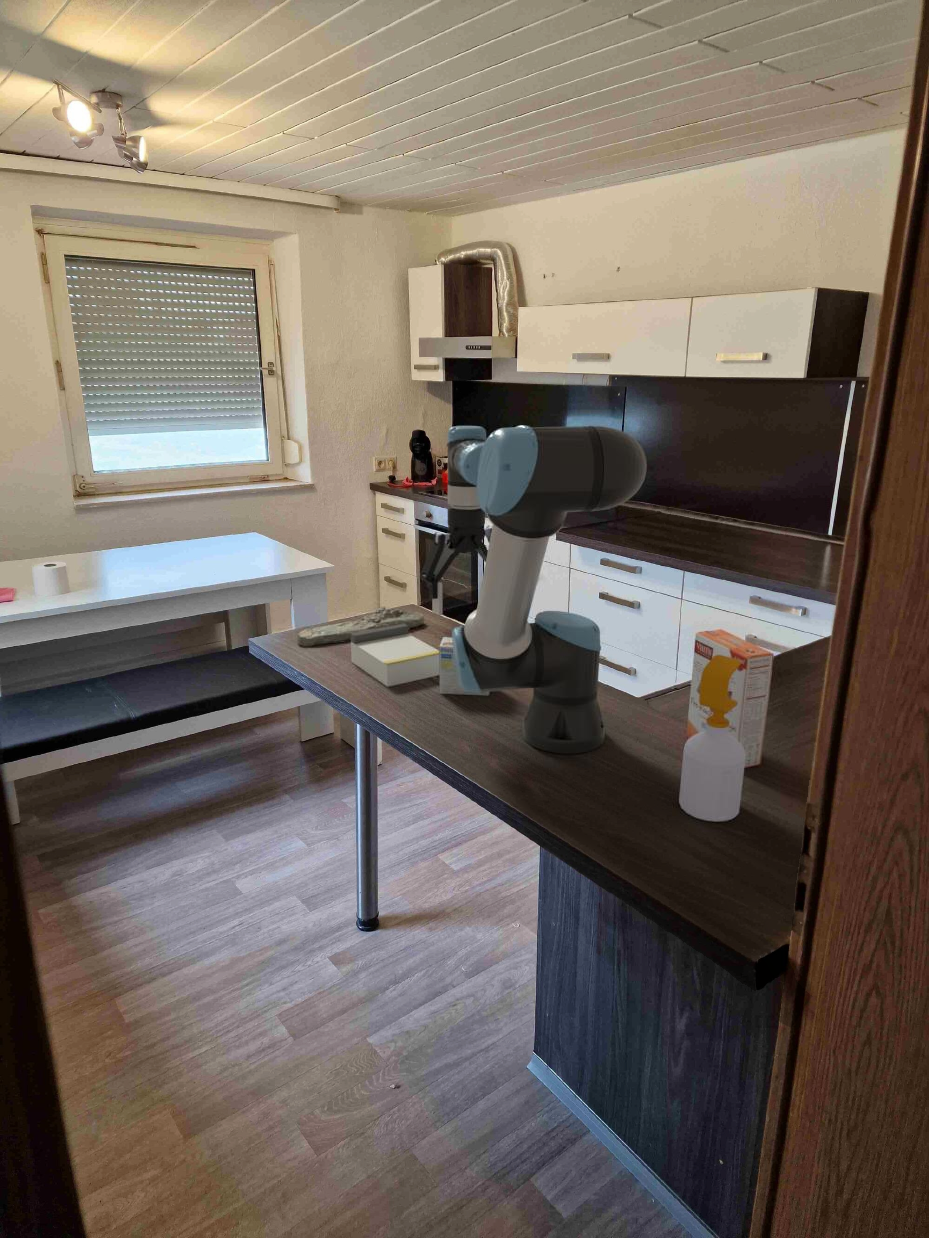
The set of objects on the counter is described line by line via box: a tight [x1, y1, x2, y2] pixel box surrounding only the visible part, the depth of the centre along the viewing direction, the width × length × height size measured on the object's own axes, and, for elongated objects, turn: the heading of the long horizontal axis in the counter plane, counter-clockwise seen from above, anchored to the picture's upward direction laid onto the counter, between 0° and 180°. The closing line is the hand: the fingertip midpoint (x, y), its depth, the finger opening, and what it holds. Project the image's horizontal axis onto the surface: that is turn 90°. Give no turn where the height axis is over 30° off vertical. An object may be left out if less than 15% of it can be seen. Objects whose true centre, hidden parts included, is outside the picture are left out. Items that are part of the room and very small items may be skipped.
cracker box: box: [686, 628, 775, 769], centre depth 141 cm, size 14×6×21 cm, turn 21°
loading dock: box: [350, 624, 439, 688], centre depth 183 cm, size 18×14×7 cm
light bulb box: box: [438, 636, 490, 697], centre depth 170 cm, size 11×7×11 cm, turn 84°
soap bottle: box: [678, 655, 746, 823], centre depth 122 cm, size 9×9×25 cm
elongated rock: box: [297, 606, 425, 647], centre depth 207 cm, size 35×5×10 cm
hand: (465, 608), depth 167 cm, fingers open, 13 cm apart
